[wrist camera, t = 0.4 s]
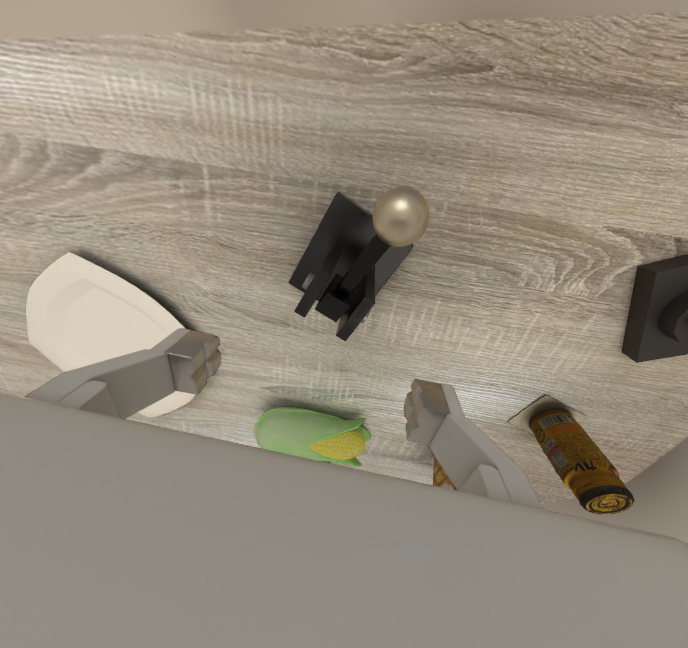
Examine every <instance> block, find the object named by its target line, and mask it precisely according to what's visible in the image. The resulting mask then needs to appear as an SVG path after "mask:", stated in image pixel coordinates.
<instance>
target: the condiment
mask: <svg viewBox="0 0 688 648" xmlns="http://www.w3.org/2000/svg"><path fill="white" fill-rule="evenodd" d="M587 418H588V417H586V416H585V415H583V414H581V413H579V412H577V411H576V410H574V409H572V408H570V407H568V406H566V405H564V404H562V403H561V402H559V401H557V400H555V399H553V398H551V397H549V396H547V395H546V396H544V397H543V398H540V399H539V400H538V401H536V402H535V403H533V404H531V405H530V406H529V407H527V408H526V409H524V410H522V411H521V412H520V413H519V414H518V415H516V416H515V417H513V418H512V419H511V420H510V421H508V422H509V423H511V424H513V425H515V426H517V427H519V428H521V429H523V430H525V431H527V432H529V433H531V434H533V435H534V436H535V437H536V439H537V441H538V443H539V445H540V446H541V448H542V449H543V452H544V453H545V454H546V456H547V457H548V459H549V460H550V462H551V463H552V465H553V467H554V469H555V471H556V473H557V474H558V475H559V476H560V478H561V480H562V481H563V483H564V484H565V485H566V486H567V487H568V488H569V489H571V490H572V492H573V494H574V495H575V496H576V497H577V499H578V500H579V502H580V505H581V506H583V508H584V509H586V510H587V511H589V512H592V513H596V514H615V513H619V512H622V511H625V510H627V509H628V508H630V507H631V506H632V504H633V502H634V498H633V495H632V494H631V492H630V491H629V490H628V489H627V488H626V487H625V484H624V483H623V482H622V481H621V480H620V479H619V473H618V471H617V469H616V468H615V467H614V466H613V465H612V464H611V462H610V461H609V460H608V459H607V458H606V456H605V455H604V454H603V453H602V452H601V450H600V449H599V448H598V447H597V446H596V444H595V443H594V442H593V441H592V439H591V438H590V437H589V436H588V435H587V433H586V432H585V431H584V430H583V428H582V427H581V426H580V425H579V424H578V423H580V422H582V421H583V420H585V419H587Z"/></svg>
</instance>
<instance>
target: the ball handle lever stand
mask: <svg viewBox="0 0 688 648" xmlns="http://www.w3.org/2000/svg"><path fill="white" fill-rule="evenodd" d="M372 218H373V215H371V214H370V213H368V212H367V211H366V210H364V209H363V208H361V207H360V206H359V205H357V204H356V203H354V202H353V201H351V200H350V199H349V198H347V197H346V196H344V195H343V194H342V193H340V192H337V194H336V195H335V197H334V199H333V201H332V203H331V205H330V207H329V208H328V210H327V212H326V214H325V216H324V218H323V220H322V221H321V223H320V225H319V227H318V229H317V231H316V233H315V234H314V236H313V238H312V240H311V242H310V244H309V246H308V247H307V249H306V251H305V253H304V255H303V257H302V259H301V260H300V262H299V264H298V266H297V268H296V270H295V272H294V273H293V275H292V277H291V279H290V281H289V284H291V285H293V286H294V287H296V288H298V289H299V290H301V291H303V292H304V293H305V294H304V295H303V297H302V299H301V301H300V302H299V304H298V306H297V307H296V309H295V311H294V312H296V313H298V314H299V315H301V316H303V317H305V316H306V315H307V313H308V312H309V310H310V308H311V307H312V305H313V304H314V302H315V300H318V301H319V300H320V299H321V297H322V295H323V293H324V291H325V290H326V288H327V287H328V285H329V284H330V282H331V281H332V280H333V278H334V277H335V275H336V274H339V275H340V276H342V277H344V276H345V274H346V273H347V272H348V270H349V269H350V268H351V266H352V265H353V264H354V262H355V261H356V260H357V258H358V257H359V255H360V254H361V253H362V251H363V250H364V249H365V247H366V246H367V245H368V243H369V242H370V241H371V239H372V238H373V237H374V235H375V234H376V232H375V230H374V227H373V220H372ZM412 248H413V244H409V245H407V246H402V247H396V246H390V247H389V249H388V250H387V251H386V252H385V253H384V254H383V256H382V257H381V258H380V259H379V260H378V261H377V263H376V264H375V265H374V266H373V267H372V269H371V270H370V271H369V272H368V273H367V274H366V276H365V277H364V278H363V279H362V280H361V282H360V283H359V284H358V285H357V286H358V287H359V288H358V290H357V292H356V295H355V297H354V299H353V302H352V304H351V306H350V308H349V309H348V310H347V311H346V312H345V313H344V314H343V315H342V316H341V317H340V321H339V325H338V329H337V333H336V336H337V337H339V338H341V339H342V340H344V341H346V340H347V339H348V338H349V336H350V335H351V334H352V332H353V331H354V330H355V329H356V327H357V326H358V325H359V323H363V322H364V321H365V320H366V318H367V317H368V315H369V312H370V309H371V308H372V307H373V305H374V304H375V296H376V295H377V293H378V292H379V291H380V289H381V288H382V287H383V285H384V284H385V283H386V282H387V280H388V279H389V278H390V276H391V275H392V274H393V272H394V271H395V270H396V268H397V267H398V266H399V265H400V263H401V262H402V261H403V259H404V258H405V257H406V255H407V254H408V253H409V251H410V250H411V249H412Z"/></svg>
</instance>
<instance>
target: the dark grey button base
mask: <svg viewBox="0 0 688 648" xmlns="http://www.w3.org/2000/svg"><path fill="white" fill-rule="evenodd" d="M622 353H624V354H625V355H626V356H628V357H629V358H631V359H632V360H634V361H635V362H643V361H649V360H655V359H661V358H667V357H674V356H680V355H686V354H688V255H684V256H680V257H676V258H671V259H667V260H663V261H659V262H655V263H650V264H646V265H642V266H638V269H637V274H636V279H635V285H634V290H633V295H632V301H631V306H630V311H629V317H628V322H627V327H626V333H625V338H624V343H623V349H622Z"/></svg>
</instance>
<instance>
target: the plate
mask: <svg viewBox="0 0 688 648" xmlns="http://www.w3.org/2000/svg"><path fill="white" fill-rule="evenodd" d="M26 318H27V329H28V337H29V343H30V344H32V345H33V346H34V347H35V348H36V349H38V350H39V351H40V352H41V353H42V354H43V355H45V356H46V357H47V358H48V359H49V360H51V361H52V362H53V363H54V364H55V365H57V366H58V367H59V368H60V369H61V370H63V371H64V372H66V371H70V370H74V369H77V368H81V367H84V366H88V365H91V364H95V363H98V362H102V361H105V360H109V359H112V358H116V357H119V356H123V355H126V354H130V353H133V352H137V351H140V350H144V349H148V350H150V349H151V348H153V347H154V346H155V345H157V344H158V343H159V342H161V341H162V340H163V339H165V338H166V337H167V336H169V335H170V334H171V333H173V332H174V331H175V330H177V329H178V328H185V327H184V326H183V325H182V324H181V323H180V322H179V321H178V320H177V319H176V318H175V317H174V315H173V314H172V313H171V312H169V311H168V310H167V309H166V308H165V307H164V306H162V305H161V304H160V303H159V302H158V301H157V300H155V299H154V298H152V297H151V296H150V295H148V294H147V293H145V292H144V291H143V290H141V289H140V288H138V287H137V286H135V285H133V284H132V283H130V282H128V281H126V280H125V279H123V278H121V277H120V276H118V275H116V274H114V273H112V272H110V271H108V270H106V269H104V268H103V267H101V266H99V265H97V264H95V263H93V262H91V261H89V260H87V259H84V258H82V257H80V256H78V255H76V254H74V253H72V252H68V253H67V254H65V255H64V256H62V257H61V258H59V259H58V260H56V261H55V262H54V263H52V264H51V265H50V266H49V267H47V268H46V269H45V270H44V271H43V272H42V273H41V274H40V275H39V276H38V277H37V278H36V279H35V281H34V283H33V284H32V286H31V287H30V289H29V292H28V298H27V306H26ZM185 329H186V328H185ZM194 396H195V394H190V393H185V392H179V391H175V392H174V393H172V394H171V395H169V396H167V397H165V398H163V399H161V400H159V401H158V402H156V403H154V404H152V405H150V406H148V407H146V408H144V409H143V410H141V411H139V412H137V413H140V414H142V415H145V416H147V417H149V418H153V417H156V416H159V415H162V414H165V413H168V412H170V411H173V410H175V409H177V408H179V407H181V406H183V405H185V404H186V403H188V402H189V401H191V400H192V398H193V397H194Z"/></svg>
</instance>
